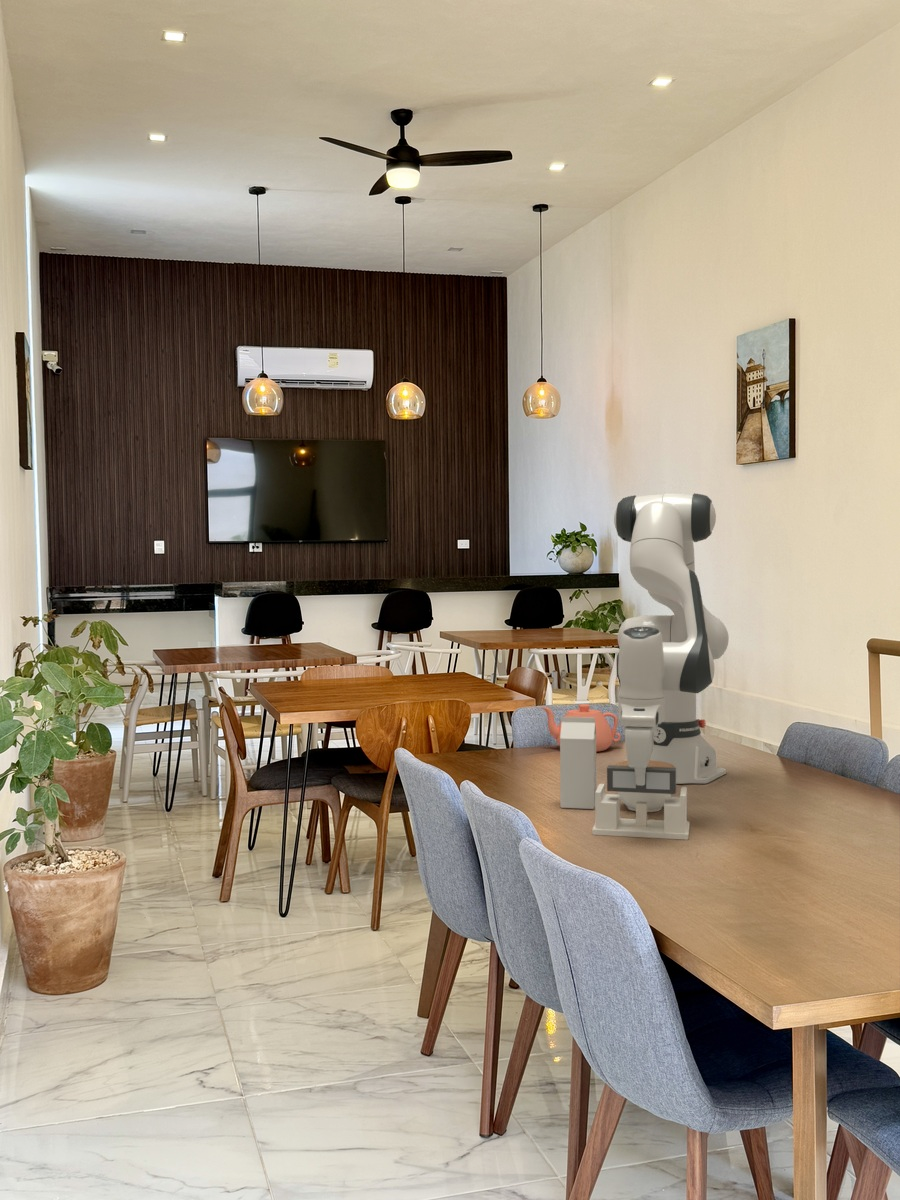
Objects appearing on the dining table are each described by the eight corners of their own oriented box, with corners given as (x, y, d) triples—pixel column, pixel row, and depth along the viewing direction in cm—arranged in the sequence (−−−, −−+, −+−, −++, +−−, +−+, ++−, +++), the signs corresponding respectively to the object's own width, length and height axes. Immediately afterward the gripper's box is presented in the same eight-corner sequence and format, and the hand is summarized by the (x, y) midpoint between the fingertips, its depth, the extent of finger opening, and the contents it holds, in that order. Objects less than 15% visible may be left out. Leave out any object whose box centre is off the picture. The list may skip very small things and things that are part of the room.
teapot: (543, 755, 291) (543, 708, 291) (538, 744, 307) (538, 701, 306) (625, 754, 291) (625, 708, 291) (616, 744, 307) (616, 700, 306)
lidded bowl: (638, 818, 221) (638, 764, 220) (602, 805, 232) (602, 754, 232) (687, 811, 227) (687, 758, 226) (649, 799, 238) (649, 749, 237)
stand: (592, 834, 208) (592, 793, 208) (597, 822, 218) (597, 782, 218) (688, 839, 204) (688, 797, 204) (689, 826, 214) (689, 786, 213)
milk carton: (594, 809, 228) (593, 720, 228) (560, 808, 230) (559, 719, 229) (596, 802, 235) (596, 715, 235) (563, 801, 237) (563, 714, 236)
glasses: (607, 791, 211) (607, 768, 210) (608, 787, 214) (608, 765, 213) (675, 794, 207) (675, 770, 207) (676, 790, 210) (676, 767, 210)
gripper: (629, 703, 221) (629, 771, 221) (620, 718, 201) (620, 792, 201) (660, 704, 219) (660, 772, 220) (655, 719, 199) (655, 794, 200)
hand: (641, 782), depth 210 cm, fingers closed on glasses, 3 cm apart
